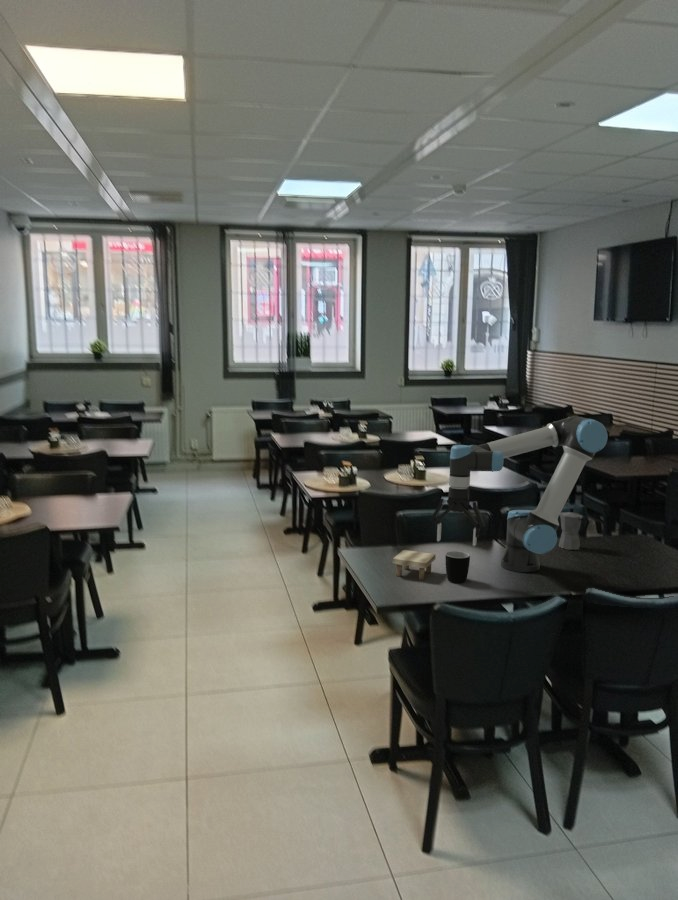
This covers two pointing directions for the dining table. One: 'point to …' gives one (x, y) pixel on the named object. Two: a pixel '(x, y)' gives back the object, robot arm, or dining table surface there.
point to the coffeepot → (571, 529)
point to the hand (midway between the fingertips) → (456, 542)
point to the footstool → (414, 562)
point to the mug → (457, 566)
